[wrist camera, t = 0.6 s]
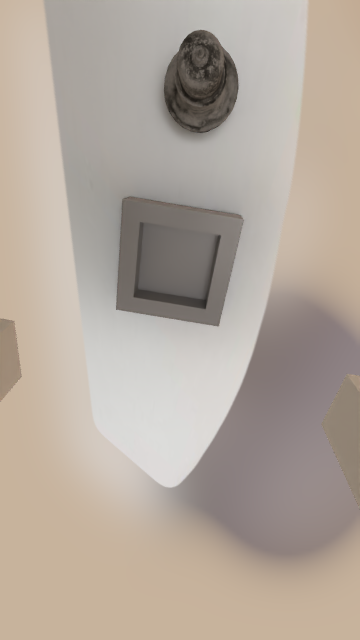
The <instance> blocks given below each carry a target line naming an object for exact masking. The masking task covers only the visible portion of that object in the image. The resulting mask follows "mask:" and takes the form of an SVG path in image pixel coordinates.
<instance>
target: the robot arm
mask: <svg viewBox="0 0 360 640" xmlns="http://www.w3.org/2000/svg"><path fill="white" fill-rule="evenodd" d="M15 331H16V330H15V323H14V321H12V320H6V319H0V401H1V400H2V399H3V398H4V397H5V395H6V394H7V393H8V392H9V391H10V390H11V388H12V387H13V386H14V385H15V383H17V381H18V380H19V379H20V378H21V369H20V361H19V353H18V347H17V338H16V332H15ZM322 426H323V429H324V431H325V433H326V435H327V438H328V440H329V442H330V444H331V446H332V449H333V451H334V453H335V455H336V457H337V460H338V462H339V464H340V466H341V469H342V471H343V473H344V475H345V477H346V480H347V482H348V484H349V486H350V488H351V491H352V493H353V495H354V497H355V500H356V502H357V504H358V506H359V508H360V376H357V375H350V374H347V375H346V377H345V379H344V381H343V383H342V385H341V387H340V389H339V391H338V393H337V395H336V397H335V399H334V401H333V402H332V404H331V406H330V408H329V410H328V412H327V414H326V416H325V418H324V420H323V422H322Z"/></svg>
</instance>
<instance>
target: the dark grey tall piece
mask: <svg viewBox="0 0 360 640" xmlns="http://www.w3.org/2000/svg"><path fill="white" fill-rule="evenodd" d="M164 93H165V101H166V104H167V106H168V109H169V112H170V113H171V115H172V116H173V118H174V119H175V121H176V122H177V123H179V124H180V125H181V126H182V127H183V128H186V129H188V130H190V131H193V132H199V133H202V132H208V131H210V130H212V129H214V128H216V127H218V126H219V125H220V124H221V123H222V122H224V121H225V120H226V119H227V117H228V116H229V114H230V113H231V111H232V109H233V107H234V104H235V102H236V99H237V93H238V74H237V71H236V67H235V64H234V62H233V60H232V58H231V57H230V55H229V53H228V52H227V51H226V50H225V49H224V48H223V47H222V46H221V44H220V43H219V41H218V39H217V38H216V37H215V36H214V35H213V34H212V33H210V32H208V31H204V30H198V31H194V32H192V33H191V34H189V35H188V36H187V37H186V38H185V39H184V41H183V43H182V44H181V46H180V49H179V52H178V53H177V54H176V55H175V56H174V57H173V59H172V61H171V63H170V64H169V66H168V69H167V73H166V76H165V84H164Z"/></svg>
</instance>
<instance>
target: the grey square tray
mask: <svg viewBox="0 0 360 640" xmlns="http://www.w3.org/2000/svg"><path fill="white" fill-rule="evenodd" d="M243 221H244V219H243V218H242V217H241V215H236V214H230V213H224V212H218V211H212V210H206V209H200V208H194V207H188V206H182V205H176V204H170V203H164V202H158V201H152V200H147V199H141V198H135V197H127V198H125V199H123V203H122V220H121V237H120V253H119V270H118V286H117V303H116V310H122V311H128V312H134V313H141V314H147V315H153V316H159V317H165V318H171V319H177V320H183V321H189V322H195V323H201V324H207V325H213V326H219V323H220V318H221V314H222V310H223V306H224V301H225V297H226V293H227V289H228V285H229V280H230V276H231V272H232V268H233V263H234V259H235V255H236V251H237V247H238V242H239V238H240V234H241V230H242V225H243Z"/></svg>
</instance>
